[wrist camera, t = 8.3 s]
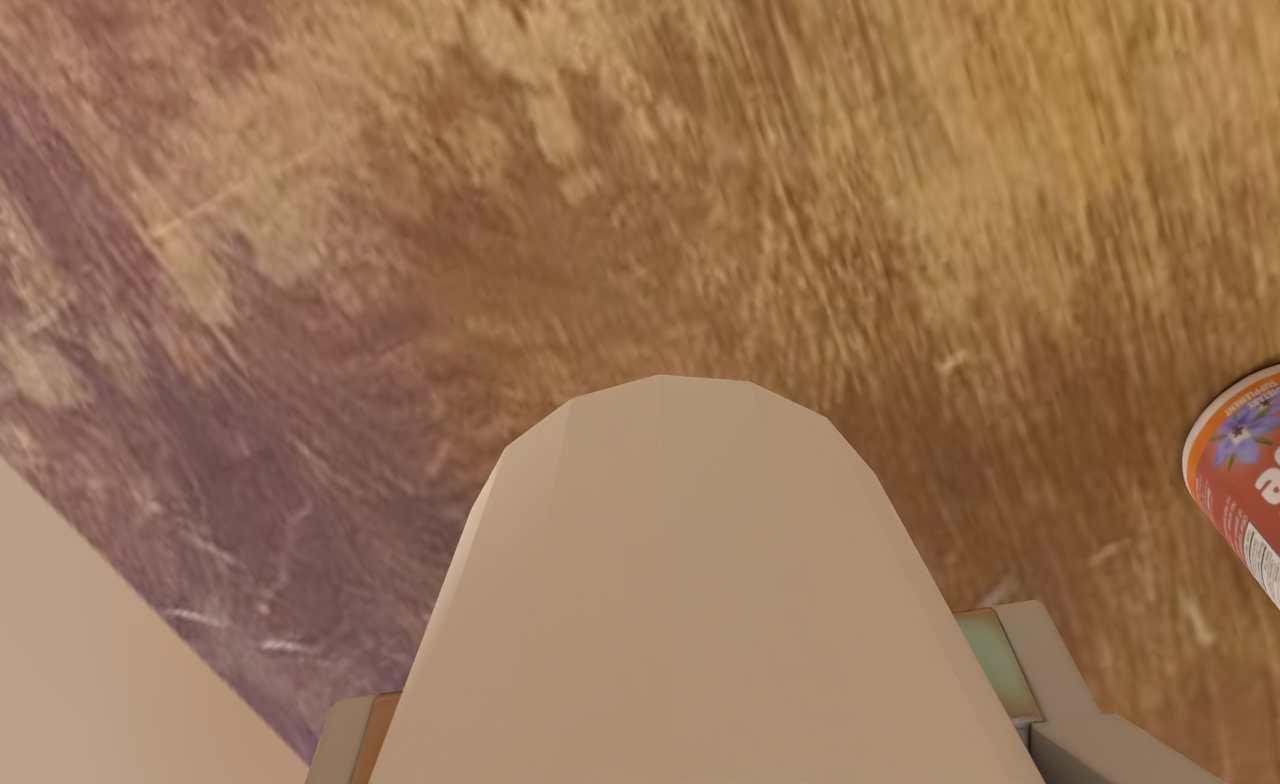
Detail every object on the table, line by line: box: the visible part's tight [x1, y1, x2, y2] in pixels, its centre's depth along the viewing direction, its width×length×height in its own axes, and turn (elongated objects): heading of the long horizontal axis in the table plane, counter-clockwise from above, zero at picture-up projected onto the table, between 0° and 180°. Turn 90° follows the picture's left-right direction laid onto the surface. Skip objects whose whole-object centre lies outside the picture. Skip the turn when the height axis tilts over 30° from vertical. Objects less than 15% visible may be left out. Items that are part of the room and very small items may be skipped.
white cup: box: [368, 375, 1046, 784], centre depth 10 cm, size 7×7×7 cm
